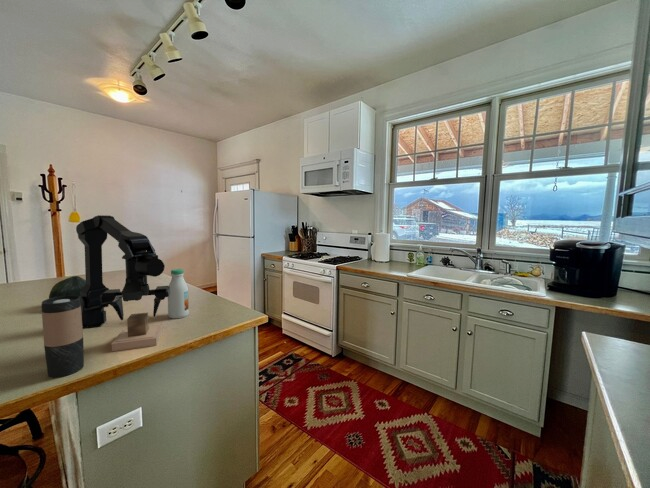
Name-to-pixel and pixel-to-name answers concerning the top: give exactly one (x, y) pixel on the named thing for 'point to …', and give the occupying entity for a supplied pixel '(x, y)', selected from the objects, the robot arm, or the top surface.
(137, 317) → the walnut block
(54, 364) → the travel mug
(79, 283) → the squash
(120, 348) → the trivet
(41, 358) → the top surface
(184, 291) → the milk bottle
